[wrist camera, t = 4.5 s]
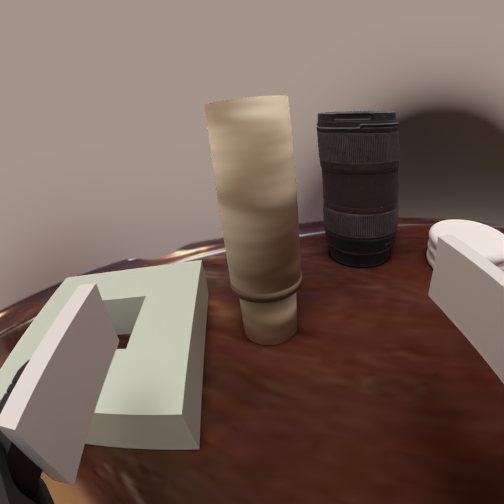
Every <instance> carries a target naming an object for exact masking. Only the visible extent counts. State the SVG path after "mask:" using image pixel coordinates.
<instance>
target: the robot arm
mask: <svg viewBox="0 0 504 504" xmlns="http://www.w3.org/2000/svg"><path fill="white" fill-rule="evenodd" d="M428 296H429V297H430V298H431V299H432V300H433V301H434V302H435V303H436V304H437V305H438V306H439V307H440V308H441V310H442V311H443V312H444V313H445V314H446V315H447V316H448V317H449V318H450V320H451V321H452V322H453V323H454V324H455V325H456V326H457V327H458V329H459V330H460V331H461V332H462V333H463V334H464V335H465V337H466V338H467V339H468V340H469V341H470V342H471V344H472V345H473V346H474V347H475V348H476V350H477V351H478V352H479V353H480V354H481V356H482V357H483V358H484V359H485V361H486V362H487V363H488V364H489V366H490V367H491V368H492V369H493V371H494V372H495V373H496V374H497V376H498V377H499V378H500V380H501V381H502V382H503V384H504V272H503V271H502V270H501V269H500V268H498V267H497V266H496V265H494V264H493V263H492V262H490V261H489V260H487V259H486V258H485V257H483V256H482V255H481V254H479V253H478V252H476V251H475V250H474V249H472V248H471V247H469V246H468V245H466V244H465V243H464V242H462V241H461V240H459V239H458V238H456V237H455V236H453V235H452V234H451V235H445V236H438V241H437V248H436V255H435V261H434V268H433V273H432V279H431V284H430V289H429V294H428ZM118 343H119V339H118V337H117V334H116V332H115V330H114V327H113V325H112V322H111V320H110V318H109V315H108V313H107V310H106V308H105V305H104V303H103V300H102V297H101V295H100V292H99V289H98V287H97V284H96V283H92V284H83V285H79V286H78V288H77V289H76V290H75V292H74V293H73V295H72V296H71V297H70V299H69V300H68V302H67V303H66V305H65V306H64V308H63V309H62V310H61V312H60V313H59V315H58V316H57V318H56V319H55V321H54V322H53V324H52V325H51V327H50V328H49V330H48V332H47V333H46V335H45V336H44V338H43V339H42V341H41V343H40V344H39V346H38V347H37V349H36V351H35V352H34V354H33V356H32V357H31V359H30V360H28V361H27V362H26V363H25V364H24V365H23V366H22V367H21V368H20V369H19V370H18V371H17V373H16V375H15V376H14V378H13V380H12V384H10V385H9V387H8V389H7V390H6V391H7V393H5V394H4V396H3V398H2V400H1V402H0V504H54V502H53V500H52V497H51V495H50V493H49V491H48V488H47V486H46V484H45V483H44V481H43V480H42V479H41V478H40V476H41V473H42V471H43V472H44V473H46V474H47V475H48V476H49V477H50V478H52V479H53V480H55V481H59V482H63V483H67V484H71V485H74V483H75V478H76V474H77V471H78V467H79V463H80V459H81V456H82V452H83V448H84V445H85V441H86V438H87V434H88V431H89V428H90V425H91V421H92V418H93V415H94V412H95V409H96V406H97V402H98V399H99V396H100V393H101V391H102V388H103V385H104V382H105V379H106V376H107V373H108V370H109V368H110V365H111V362H112V359H113V357H114V354H115V351H116V349H117V346H118Z"/></svg>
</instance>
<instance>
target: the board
mask: <svg viewBox="0 0 504 504" xmlns="http://www.w3.org/2000/svg"><path fill="white" fill-rule="evenodd" d="M92 283H96V284H97V287H98V289H99V292H100V295H101V297H102V300H103V303H104V305H105V308H106V310H107V313H108V315H109V318H110V320H111V322H112V325H113V327H114V330H115V332H116V334H117V335H122V334H131V337H130V340H129V342H128V345H127V348H126V349H116V351H115V354H114V357H113V359H112V362H111V365H110V368H109V370H108V373H107V376H106V379H105V382H104V385H103V388H102V391H101V393H100V396H99V399H98V402H97V406H96V409H95V412H94V415H93V418H92V421H91V425H90V428H89V431H88V434H87V438H86V441H85V444H91V445H99V446H109V447H120V448H134V449H158V450H192V449H200V423H201V401H202V382H203V365H204V350H205V335H206V321H207V308H208V296H209V293H208V288H207V284H206V279H205V274H204V269H203V264H202V260H198V261H190V262H183V263H175V264H168V265H160V266H152V267H145V268H137V269H129V270H122V271H114V272H106V273H99V274H91V275H83V276H76V277H68V278H66V279H65V281H64V282H63V283H62V284H61V285H60V287H59V288H58V289H57V290H56V292H55V293H54V294H53V296H52V297H51V298H50V299H49V301H48V302H47V303H46V305H45V306H44V307H43V308H42V310H41V311H40V312H39V314H38V315H37V317H36V318H35V319H34V321H33V322H32V323H31V325H30V326H29V327H28V329H27V330H26V332H25V333H24V335H23V336H22V337H21V339H20V340H19V342H18V343H17V345H16V346H15V348H14V349H13V351H12V352H11V354H10V355H9V357H8V358H7V360H6V361H5V363H4V364H3V366H2V367H1V369H0V402H1V400H2V398H3V396H4V394H5V393H7V391H6V390H7V389H8V387H9V385H10V384H12V380H13V378H14V376H15V375H16V373H17V371H18V370H19V369H20V368H21V367H22V366H23V365H24V364H25V363H26V362H27V361H28V360H30V359H31V357H32V356H33V354H34V352H35V351H36V349H37V347H38V346H39V344H40V343H41V341H42V339H43V338H44V336H45V335H46V333H47V332H48V330H49V328H50V327H51V325H52V324H53V322H54V321H55V319H56V318H57V316H58V315H59V313H60V312H61V310H62V309H63V308H64V306H65V305H66V303H67V302H68V300H69V299H70V297H71V296H72V295H73V293H74V292H75V290H76V289H77V288H78V286H79V285H83V284H92Z"/></svg>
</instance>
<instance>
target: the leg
mask: <svg viewBox="0 0 504 504" xmlns="http://www.w3.org/2000/svg"><path fill="white" fill-rule="evenodd" d="M205 111H206V118H207V126H208V134H209V141H210V148H211V155H212V163H213V170H214V177H215V183H216V190H217V197H218V204H219V211H220V217H221V223H222V230H223V237H224V243H225V249H226V255H227V262H228V268H229V274H230V285H231V290H232V292H233V294H234V295H235V296H237V297H238V298H239V299H240V306H241V312H242V318H243V324H244V331H245V334H246V336H247V338H248V339H249V340H251V341H252V342H254V343H257V344H261V345H276V344H280V343H283V342H286V341H288V340H289V339H291V338H292V337H293V336H294V335H295V333H296V331H297V302H296V292H297V291H298V290H299V289H300V287H301V285H302V271H301V260H300V240H299V222H298V206H297V192H296V177H295V165H294V153H293V141H292V131H291V120H290V110H289V101H288V96H283V95H275V96H258V97H248V98H239V99H231V100H225V101H219V102H214V103H210V104H206V105H205Z"/></svg>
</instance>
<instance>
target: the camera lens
mask: <svg viewBox="0 0 504 504" xmlns="http://www.w3.org/2000/svg"><path fill="white" fill-rule="evenodd" d="M398 124H399V123H398V122H397V120H396V113H395V112H393V111H350V112H349V111H348V112H326V113H318V123H317V126H318V127H317V135H318V147H319V158H320V164H321V167H322V177H323V198H324V204H323V212H324V226H325V232H326V240H327V242H328V243H329V246H330V254H331V256H332V257H333V258H334V259H335V260H336V261H338V262H340V263H343V264H346V265H350V266H355V267H371V266H376V265H379V264H382V263H384V262H385V261H387V259H388V258H389V256H390V249H391V247H392V246H393V244H394V243H395V237H396V231H397V226H398V168H399V162H400V142H399V126H398Z"/></svg>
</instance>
